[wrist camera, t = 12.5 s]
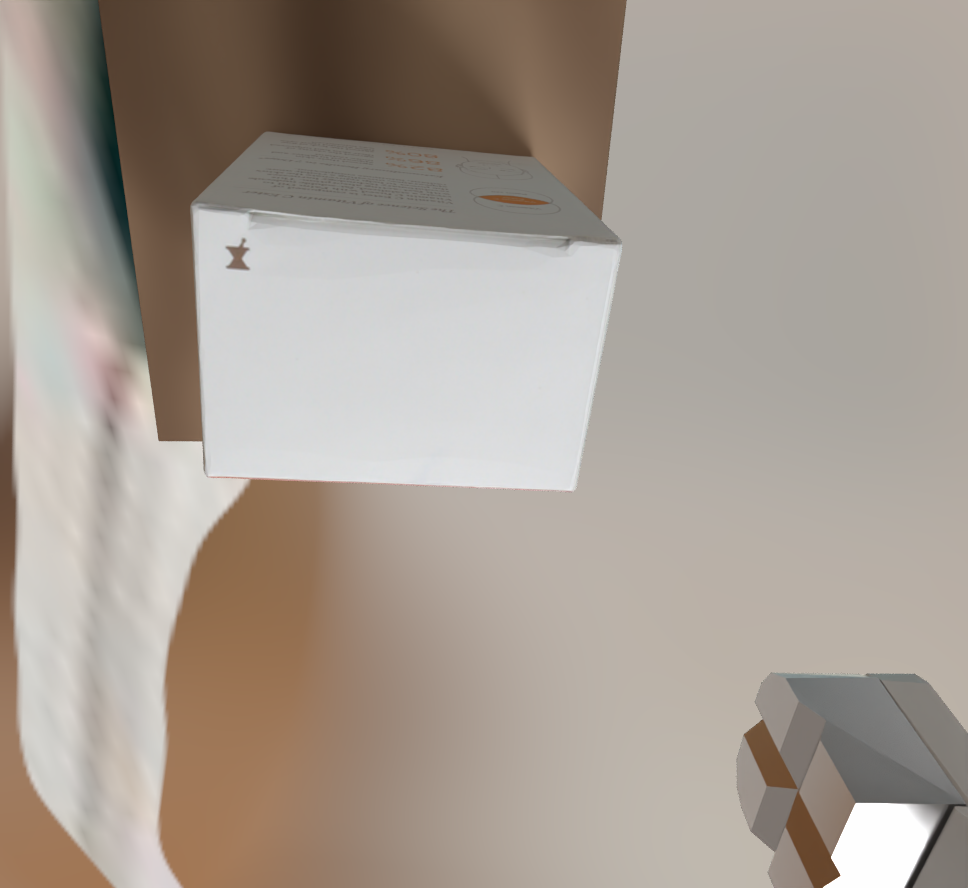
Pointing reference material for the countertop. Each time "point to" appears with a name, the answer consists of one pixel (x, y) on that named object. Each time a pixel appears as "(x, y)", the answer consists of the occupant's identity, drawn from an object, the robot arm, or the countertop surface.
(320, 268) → the small box
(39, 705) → the countertop surface
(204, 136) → the walnut block
